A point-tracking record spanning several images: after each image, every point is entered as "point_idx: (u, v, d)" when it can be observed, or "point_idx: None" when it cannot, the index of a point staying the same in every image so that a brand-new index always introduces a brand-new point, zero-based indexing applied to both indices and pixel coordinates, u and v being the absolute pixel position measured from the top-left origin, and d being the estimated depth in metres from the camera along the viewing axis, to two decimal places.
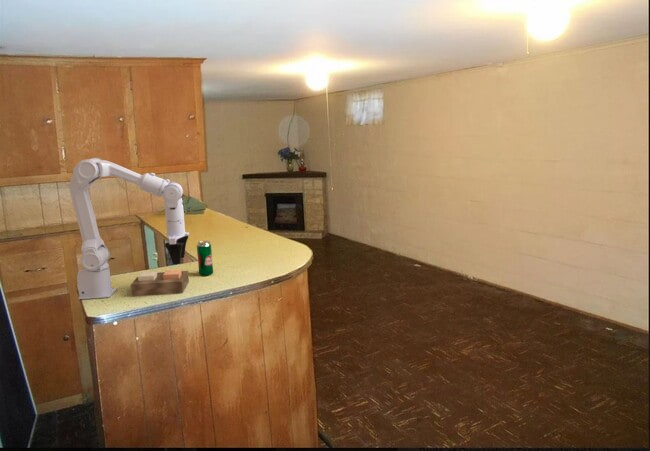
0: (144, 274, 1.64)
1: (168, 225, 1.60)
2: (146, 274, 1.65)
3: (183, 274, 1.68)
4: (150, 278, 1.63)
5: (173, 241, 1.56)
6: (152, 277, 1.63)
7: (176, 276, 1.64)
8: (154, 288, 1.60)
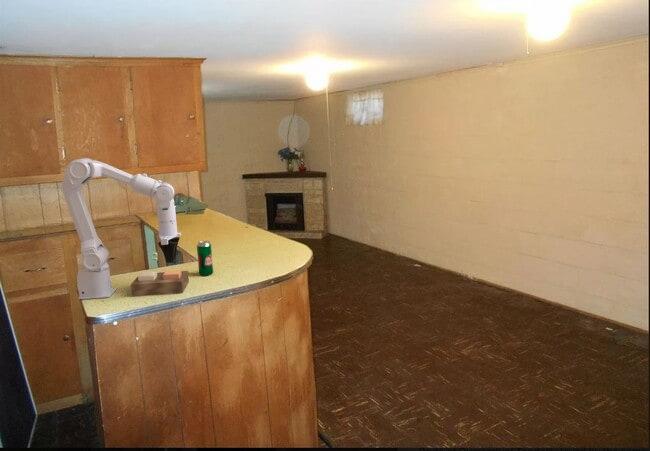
0: (144, 274, 1.64)
1: (160, 226, 1.61)
2: (146, 274, 1.65)
3: (183, 274, 1.68)
4: (150, 278, 1.63)
5: (165, 241, 1.57)
6: (152, 277, 1.63)
7: (176, 276, 1.64)
8: (154, 288, 1.60)
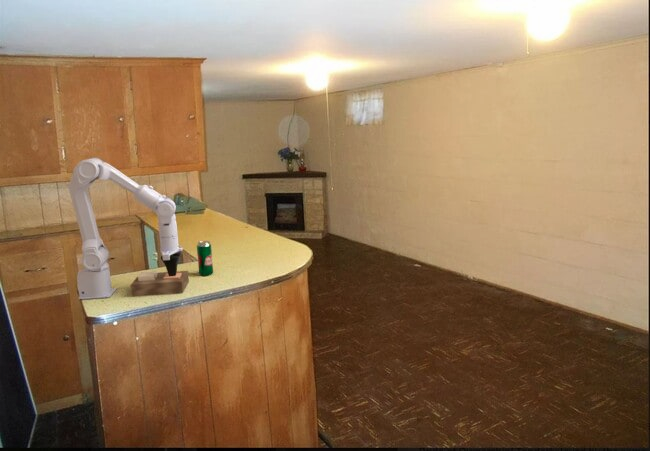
0: (144, 274, 1.64)
1: (162, 241, 1.62)
2: (146, 274, 1.65)
3: (183, 274, 1.68)
4: (150, 278, 1.63)
5: (166, 257, 1.58)
6: (152, 277, 1.63)
7: None
8: (154, 288, 1.60)
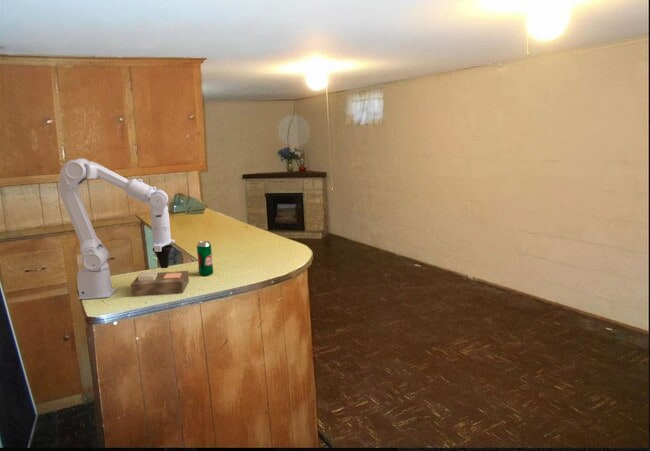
0: (144, 274, 1.64)
1: (154, 232, 1.61)
2: (146, 274, 1.65)
3: (183, 274, 1.68)
4: (150, 278, 1.63)
5: (158, 248, 1.57)
6: (152, 277, 1.63)
7: None
8: (154, 288, 1.60)
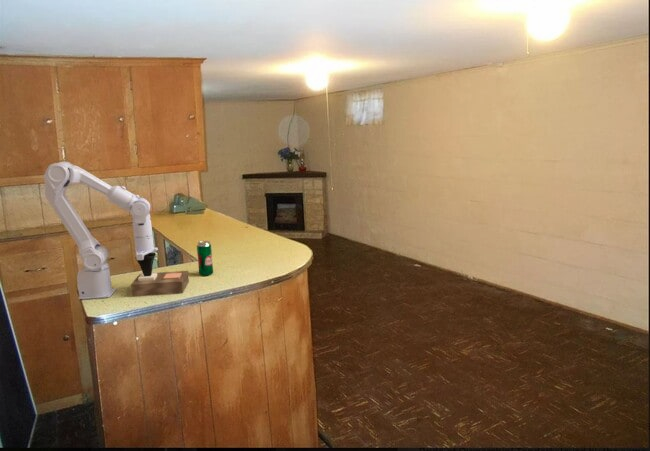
0: (145, 276, 1.64)
1: (136, 241, 1.61)
2: (146, 276, 1.65)
3: (183, 274, 1.68)
4: None
5: (140, 257, 1.57)
6: (152, 279, 1.63)
7: None
8: (154, 288, 1.60)
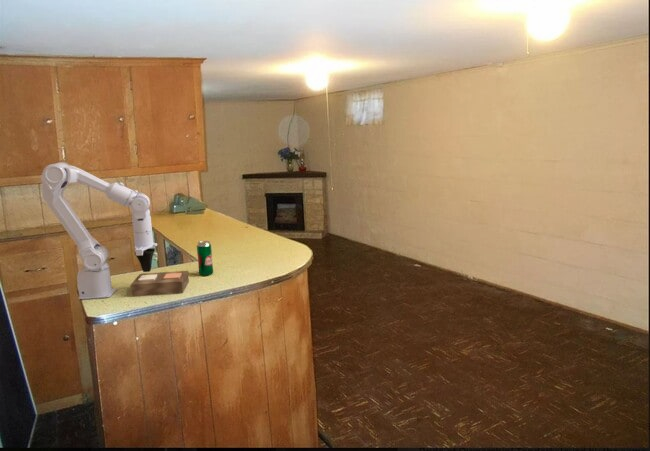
0: (145, 278, 1.64)
1: (135, 236, 1.60)
2: (146, 277, 1.65)
3: (183, 274, 1.68)
4: None
5: (140, 252, 1.56)
6: None
7: None
8: (154, 288, 1.60)
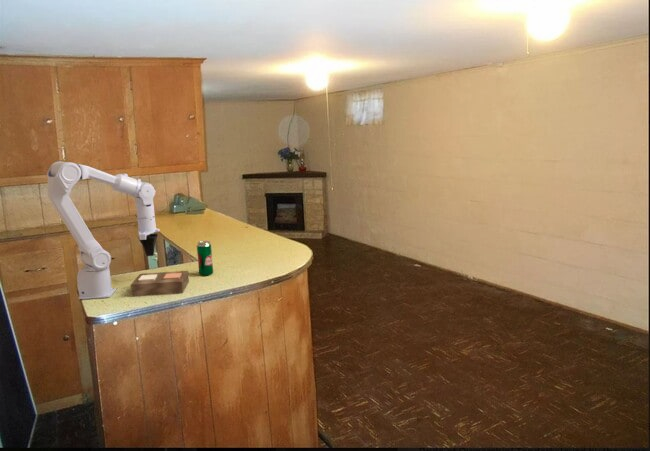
0: (145, 278, 1.64)
1: (139, 222, 1.69)
2: (146, 277, 1.65)
3: (183, 274, 1.68)
4: None
5: (143, 237, 1.65)
6: None
7: None
8: (154, 288, 1.60)
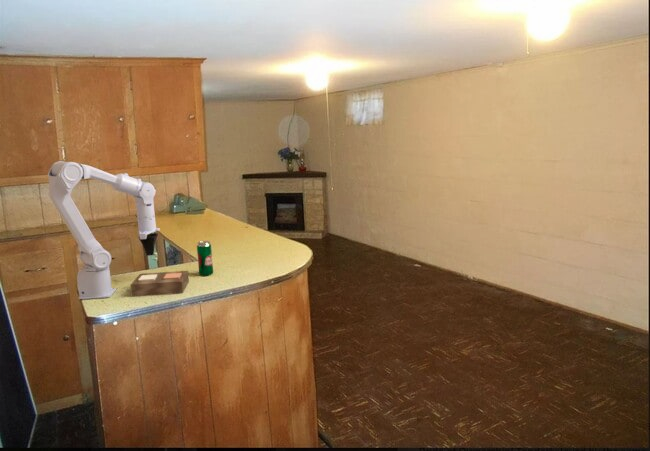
0: (145, 278, 1.64)
1: (139, 221, 1.69)
2: (146, 277, 1.65)
3: (183, 274, 1.68)
4: None
5: (143, 236, 1.66)
6: None
7: None
8: (154, 288, 1.60)
